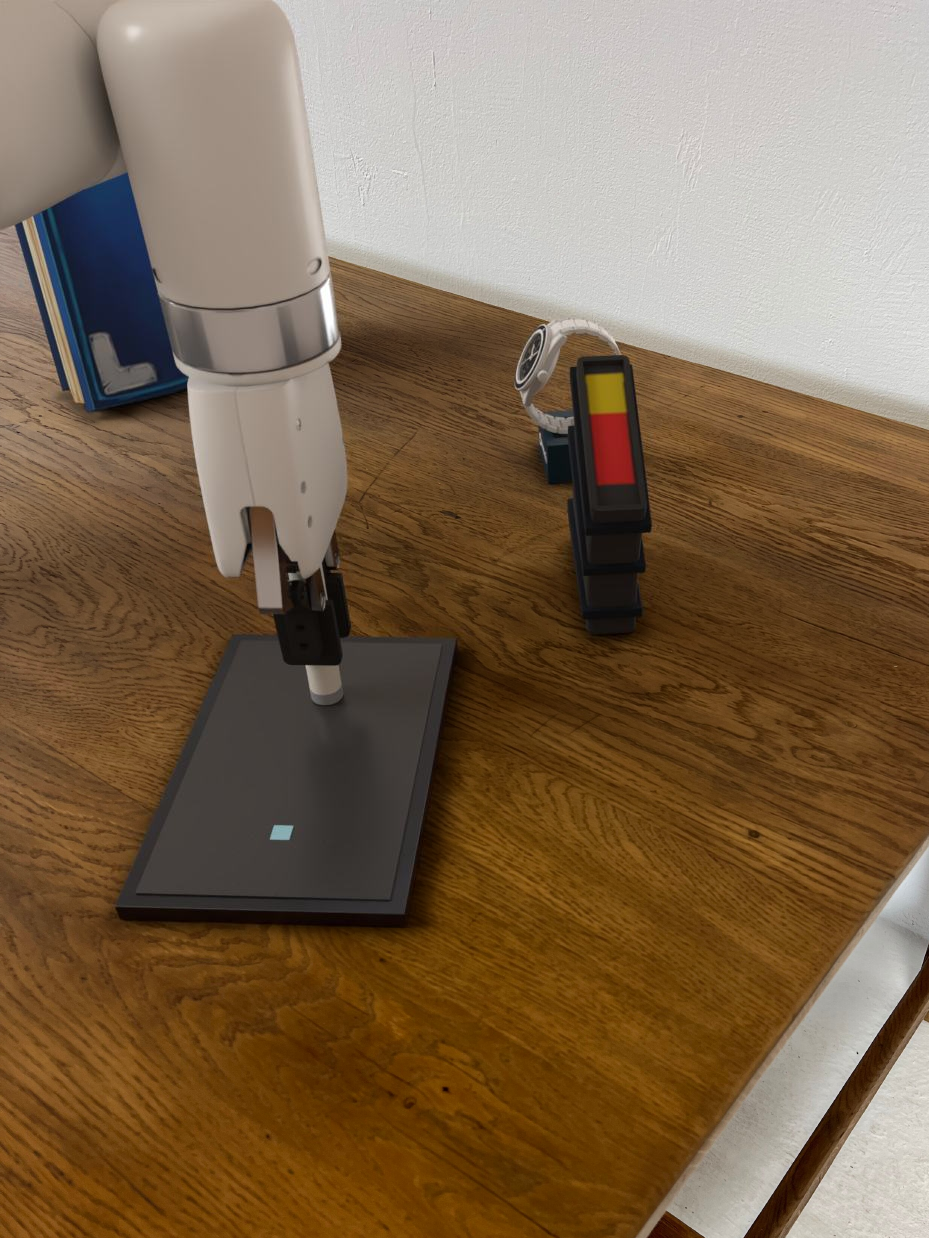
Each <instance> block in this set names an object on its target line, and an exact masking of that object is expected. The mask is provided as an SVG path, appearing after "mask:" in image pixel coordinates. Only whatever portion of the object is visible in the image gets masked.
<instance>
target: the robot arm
mask: <svg viewBox="0 0 929 1238" xmlns="http://www.w3.org/2000/svg"><path fill="white" fill-rule="evenodd" d="M295 38H296V37H295V34H294V31H293V29H292V26H291V23H290V21H289V20H288V18H287V15H286V13H285V12H284V10H283V9H282V8H281V7H280V5H279V4H278V3H277V2H276V1H274V0H0V231H2V230H6V229H8V228H11V227H13V226H15V224H18V223H20V222H22V221H25V220H26V219H28V218H30V217H32V216H34V215H36V214H38V213H40V212H42V211H44V210H46V209H48V208H50V207H52V206H53V205H55V204H57V203H59V202H61V201H63V200H64V199H66V198H68V197H70V196H72V195H74V194H76V193H78V192H80V191H82V190H84V189H87V188H89V187H92V186H95V185H97V184H100V183H102V182H105V181H107V180H110V179H113V178H115V177H118V176H120V175H122V174H125V173H127V172H128V176H129V180H130V184H131V188H132V191H133V195H134V199H135V203H136V207H137V211H138V215H139V219H140V223H141V227H142V231H143V235H144V239H145V243H146V247H147V251H148V255H149V259H150V263H151V266H152V270H153V274H154V278H155V282H156V286H157V291H158V295H159V299H160V303H161V307H162V311H163V315H164V319H165V323H166V327H167V331H168V335H169V339H170V343H171V347H172V350H173V355H174V359H175V363H176V366H177V368H178V369H179V370H180V371H181V372H182V373H184V374H185V375H187V376H188V377H189V379H188V383H187V388H188V389H187V403H188V413H189V423H190V430H191V431H190V433H191V439H192V445H193V446H192V447H193V452H194V460H195V465H196V471H197V475H198V482H199V486H200V492H201V496H202V502H203V506H204V507H203V508H204V511H205V516H206V521H207V525H208V530H209V536H210V540H211V545H212V550H213V554H214V559H215V562H216V566H217V569H218V571H219V572H220V574H221V575H222V576H223V577H224V578H225V579H233V578H240V577H241V576H242V573H243V571H244V568H245V566H246V564H247V562H248V560H249V557H250V555H251V553H252V559H253V568H254V569H253V570H254V578H255V590H256V599H257V609H258V612H259V614H260V615H272V617H273V622H274V627H275V630H276V635H278V639H279V643H280V648H281V652H282V657H283V660H284V662H285V663H286V664H288V665H317V666H337V665H339V664H340V663H341V660H342V657H343V653H342V647H341V642H340V638H345V637H348V636H350V634H351V631H352V623H351V617H350V611H349V605H348V600H347V594H346V587H345V583H344V582H345V581H344V576H343V572H332V571H339V569H340V566H341V565H340V564H341V559H340V551H339V550H340V549H339V544H338V539H337V532H336V527H337V524H338V521H339V519H340V516H341V513H342V510H343V507H344V503H345V500H346V498H347V497H346V496H347V493H348V484H349V481H348V480H349V479H348V477H349V476H348V465H347V464H348V463H347V455H346V447H345V440H344V435H343V427H342V422H341V417H340V411H339V406H338V399H337V395H336V390H335V386H334V382H333V376H332V371H331V368H330V367H331V366H330V363H331V362H332V361H334V359H336V357H337V356H338V355H339V354H340V351H341V349H342V338H341V331H340V323H339V318H338V317H339V316H338V311H337V304H336V298H335V292H334V283H333V277H332V272H331V267H330V266H331V265H330V259H329V253H328V244H327V240H326V232H325V225H324V219H323V212H322V205H321V199H320V192H319V191H320V190H319V184H318V177H317V173H316V165H315V158H314V151H313V145H312V144H313V143H312V139H311V132H310V125H309V119H308V118H309V117H308V112H307V106H306V99H305V93H304V85H303V79H302V71H301V66H300V58H299V54H298V48H297V44H296V39H295ZM321 564H322V568H323V574H324V580H325V586H326V592H327V598H328V600H326V596H325V590H324V585H323V580H322V575H321V569H320V566H321ZM288 573H297V574H301V576H302V578H303V579H305V580H306V583H305V582H303V581H302V580H289V575H288Z"/></svg>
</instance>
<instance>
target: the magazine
mask: <svg viewBox="0 0 929 1238" xmlns="http://www.w3.org/2000/svg"><path fill="white" fill-rule="evenodd" d="M569 385H570V396H571V405H572V410H573V416H574V426H568V445H569V454H570V463H571V472H572V481H573V482H572V497H571V498H570V497H569V498H568V497H567V500H566V512H567V513H566V514H567V520H568V528H569V535H570V541H571V548H572V556H573V562H574V569H575V577H576V585H577V590H578V598H579V605H580V612H581V619H582V620H583V621H585V627H586V631H587V633H588V635H592V636H594V635H596V636H597V635H610V634H611V635H613V634H629V633H634V631H635V629H636V621H637V620H636V618H642V617H643V615H644V607H643V601H642V596H641V591H640V590H641V589H640V585H639V580H638V579H639V574H645V573H646V571H647V563H646V556H645V548H644V540H643V534H650V533H652V528H653V520H652V512H651V505H650V497H649V488H648V479H647V473H646V464H645V457H644V448H643V440H642V433H641V423H640V417H639V410H638V409H639V408H638V401H637V391H636V384H635V377H634V367H633V364H632V363H630V358H629V357H628V355H624V354H621V355H614V354H612V355H611V354H610V355H590V356H589V355H587V356H580V357H578V358H577V361H576V366H570V367H569Z"/></svg>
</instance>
